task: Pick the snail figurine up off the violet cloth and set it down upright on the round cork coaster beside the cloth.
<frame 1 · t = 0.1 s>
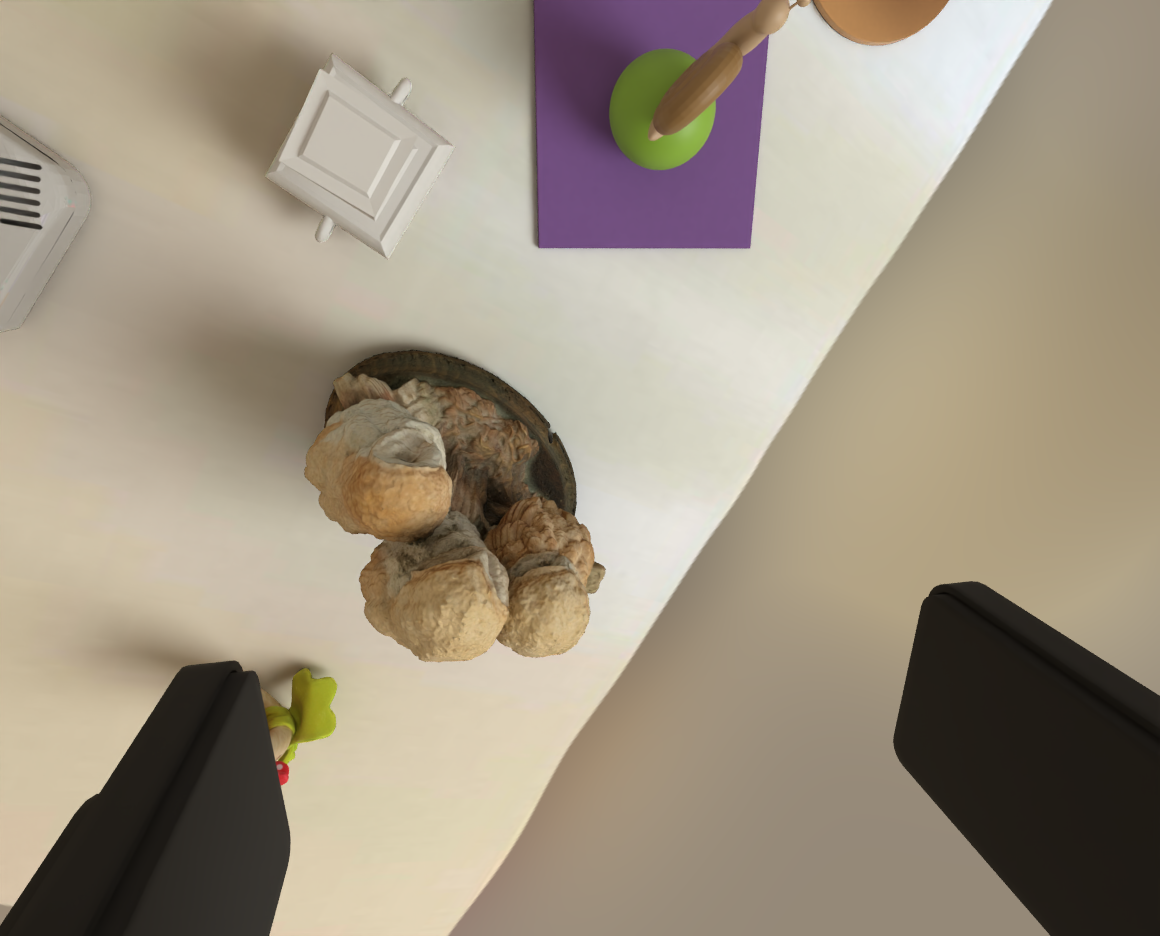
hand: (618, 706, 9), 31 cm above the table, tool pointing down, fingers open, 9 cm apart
owl figurine: (464, 464, 40), on the table
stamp: (369, 168, 33), on the table
snail figurine: (651, 115, 35), resting on cloth
bird rattle: (267, 686, 42), on the table
cloth: (653, 53, 34), on the table
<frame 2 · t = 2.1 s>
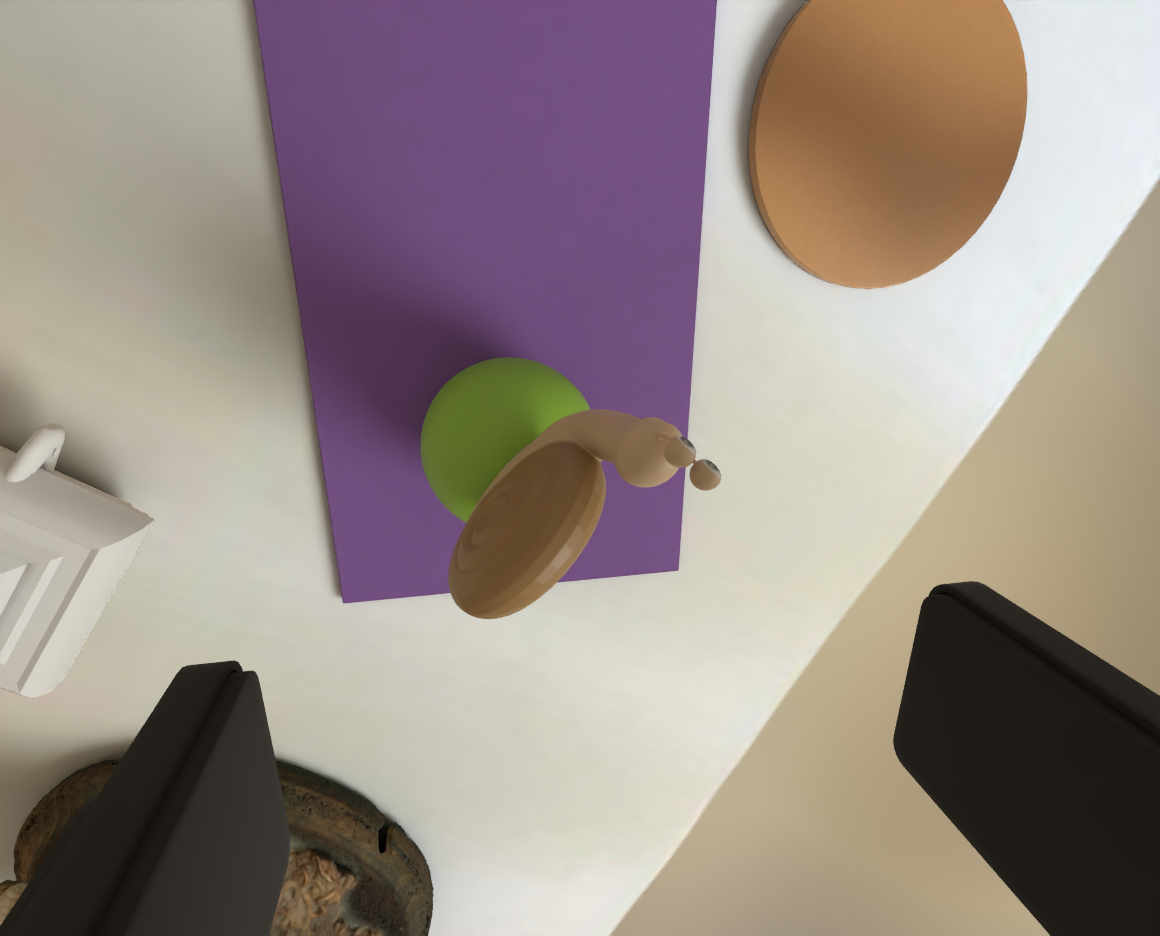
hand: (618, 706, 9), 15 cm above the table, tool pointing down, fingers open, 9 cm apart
owl figurine: (261, 867, 27), on the table
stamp: (40, 518, 20), on the table
coaster: (885, 135, 21), on the table
snail figurine: (512, 410, 22), resting on cloth
cloth: (509, 322, 21), on the table
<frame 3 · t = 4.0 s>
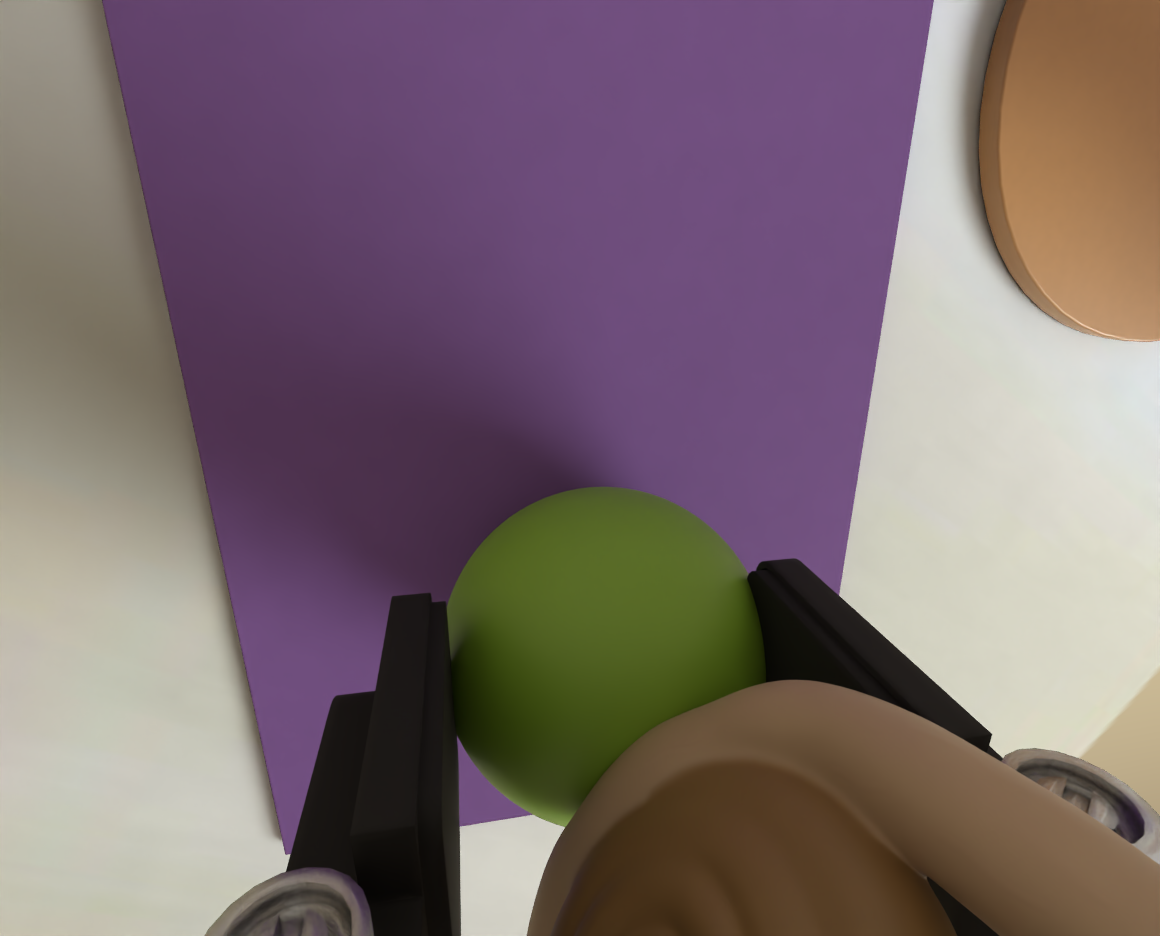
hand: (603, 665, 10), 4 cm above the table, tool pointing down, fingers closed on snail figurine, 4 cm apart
snail figurine: (588, 548, 13), resting on cloth, touching gripper
cloth: (562, 408, 12), on the table
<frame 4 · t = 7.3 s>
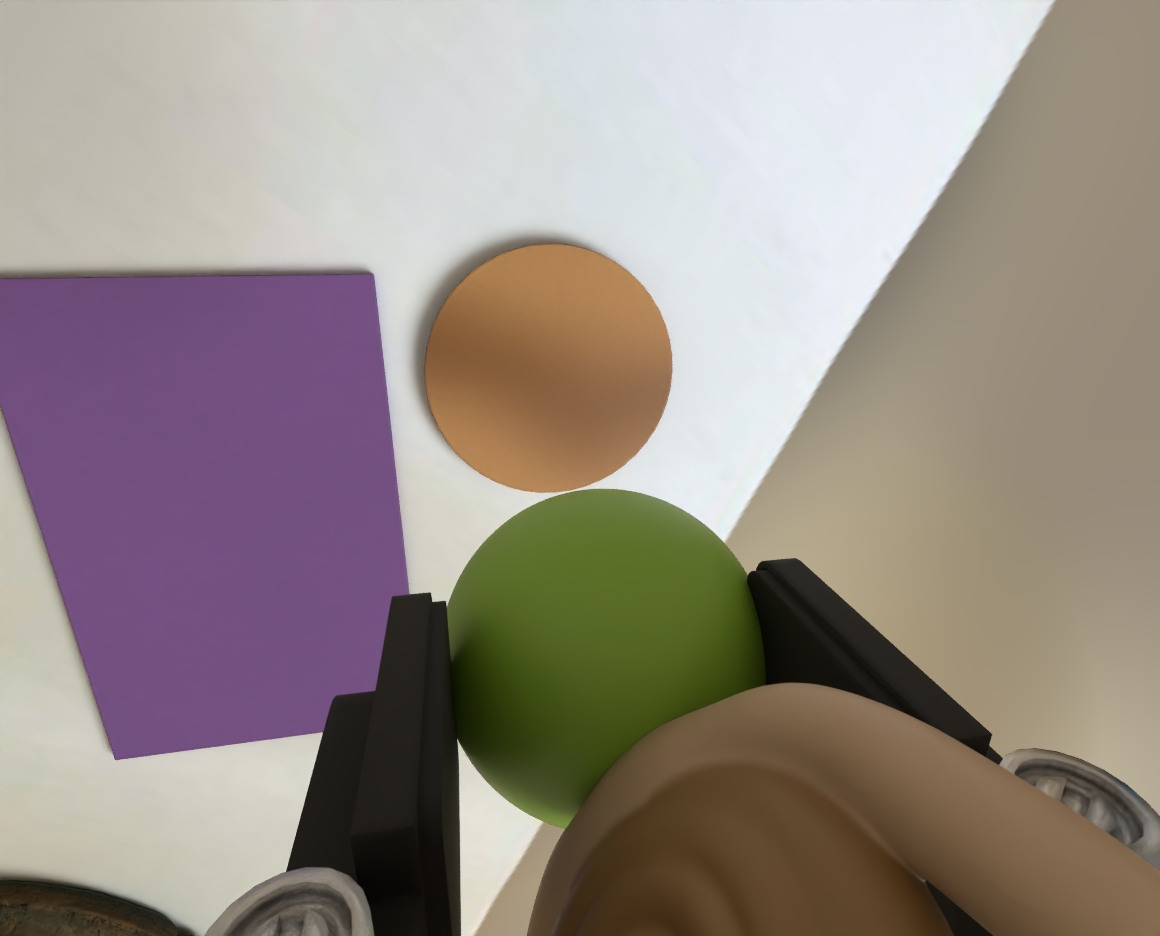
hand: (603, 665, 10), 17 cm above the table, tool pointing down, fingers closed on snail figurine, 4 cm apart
coaster: (551, 374, 25), on the table
snail figurine: (588, 550, 13), point 13 cm above the table, touching gripper
cloth: (234, 535, 25), on the table
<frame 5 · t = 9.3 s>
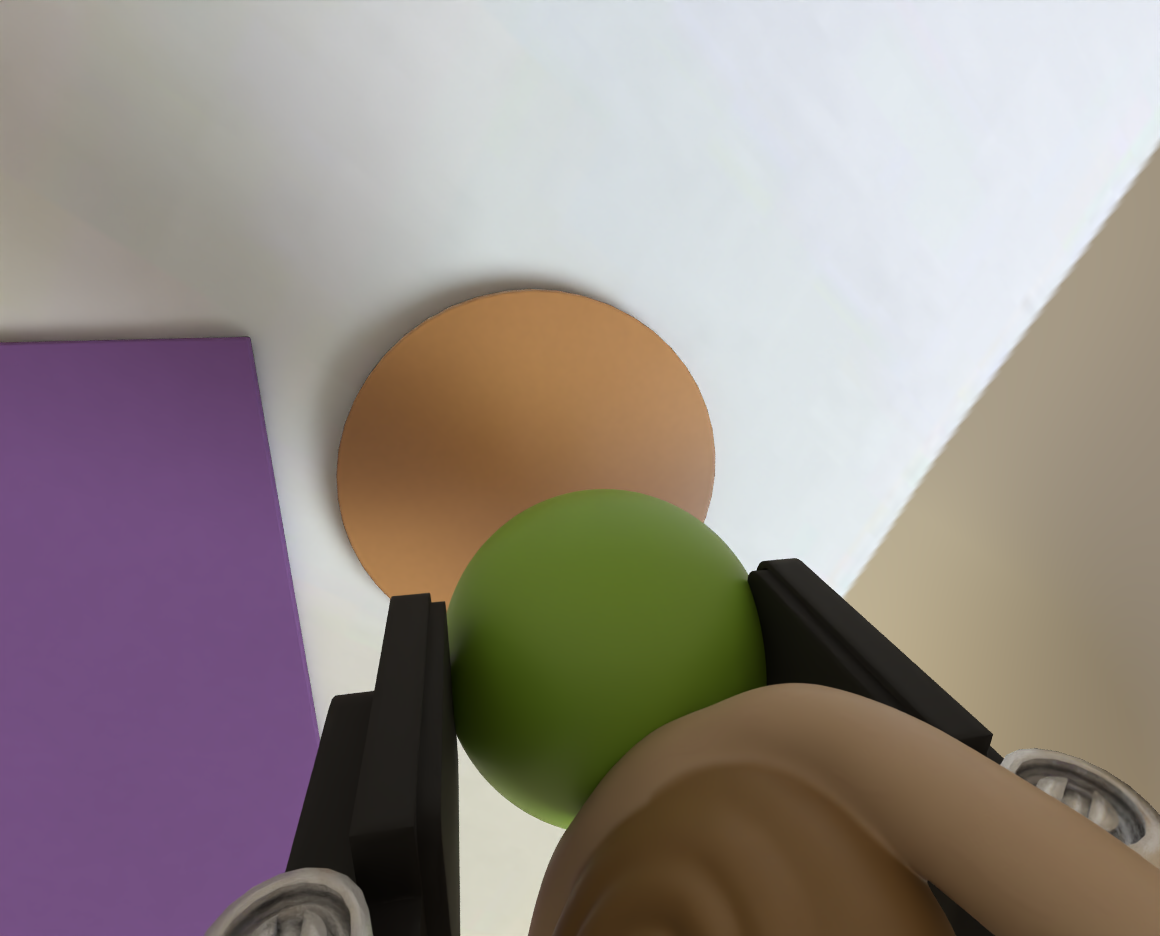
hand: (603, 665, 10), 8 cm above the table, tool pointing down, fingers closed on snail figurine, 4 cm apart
coaster: (534, 480, 17), on the table
snail figurine: (589, 550, 13), point 4 cm above the table, touching gripper
cloth: (52, 723, 17), on the table
when the fingers open (4 cm above the table, at t = 10.6 s): snail figurine stays where it is, resting on coaster.
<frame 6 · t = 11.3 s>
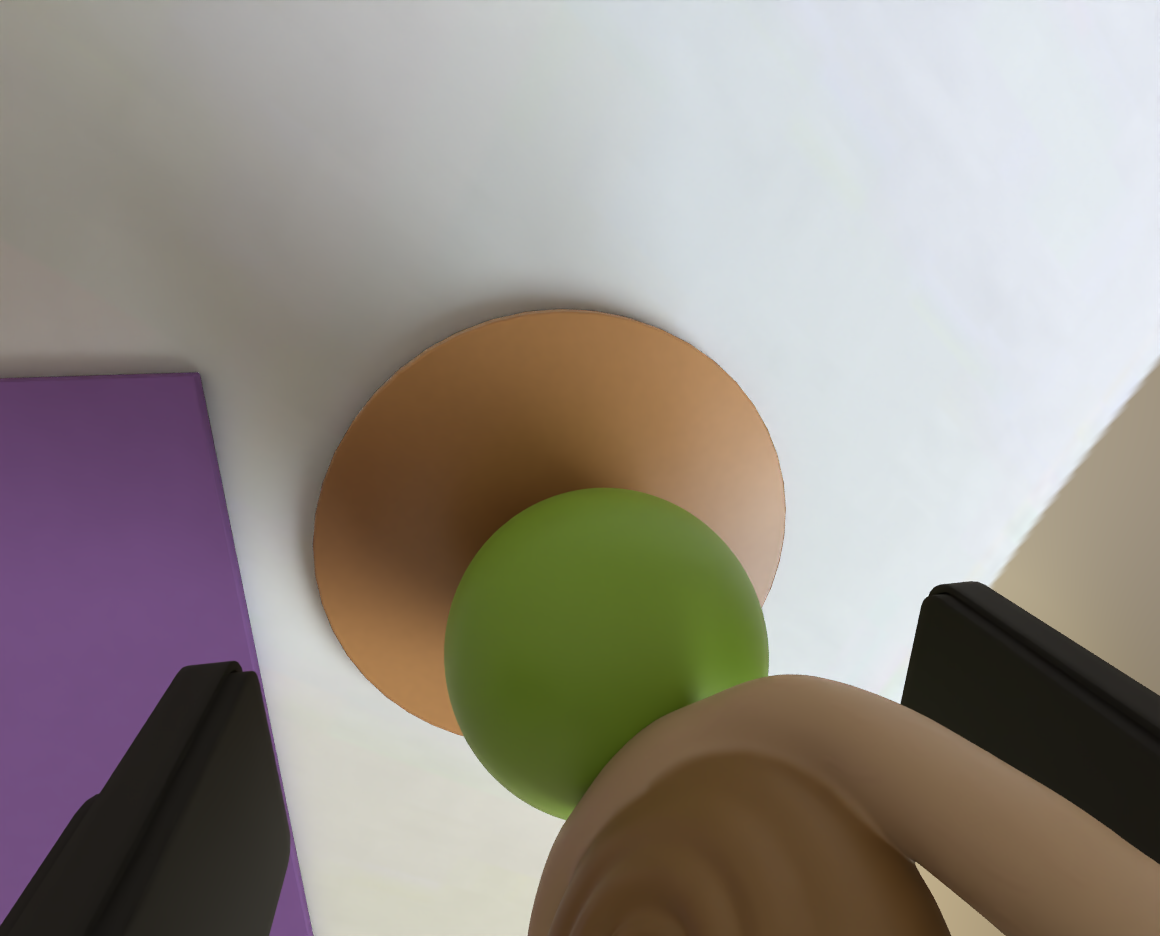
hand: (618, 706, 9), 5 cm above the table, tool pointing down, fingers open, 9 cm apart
coaster: (561, 544, 14), on the table
snail figurine: (590, 549, 13), resting on coaster
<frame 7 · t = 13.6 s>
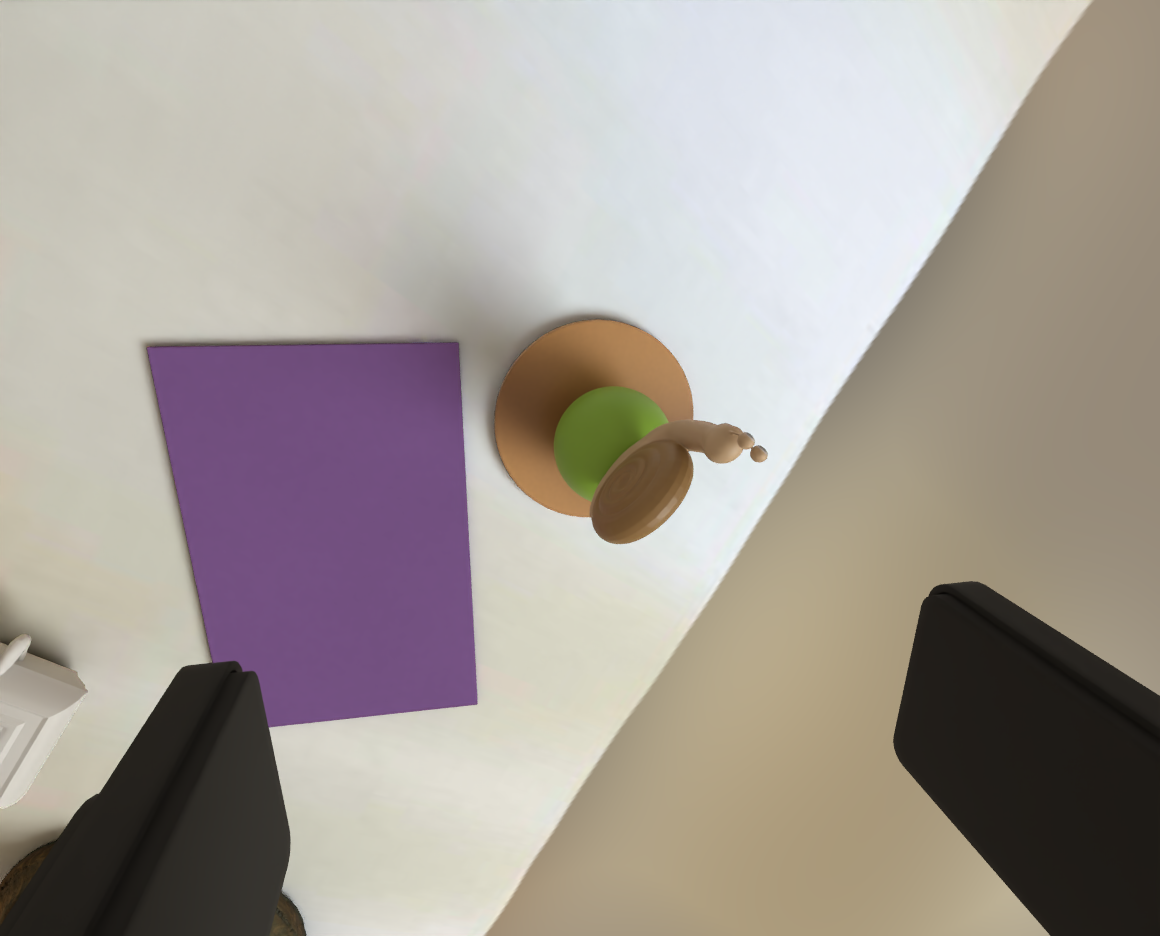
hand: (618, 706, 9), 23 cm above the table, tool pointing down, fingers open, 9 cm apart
owl figurine: (175, 917, 36), on the table
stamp: (17, 680, 30), on the table
coaster: (594, 421, 31), on the table
snail figurine: (607, 422, 31), resting on coaster
cloth: (335, 548, 31), on the table
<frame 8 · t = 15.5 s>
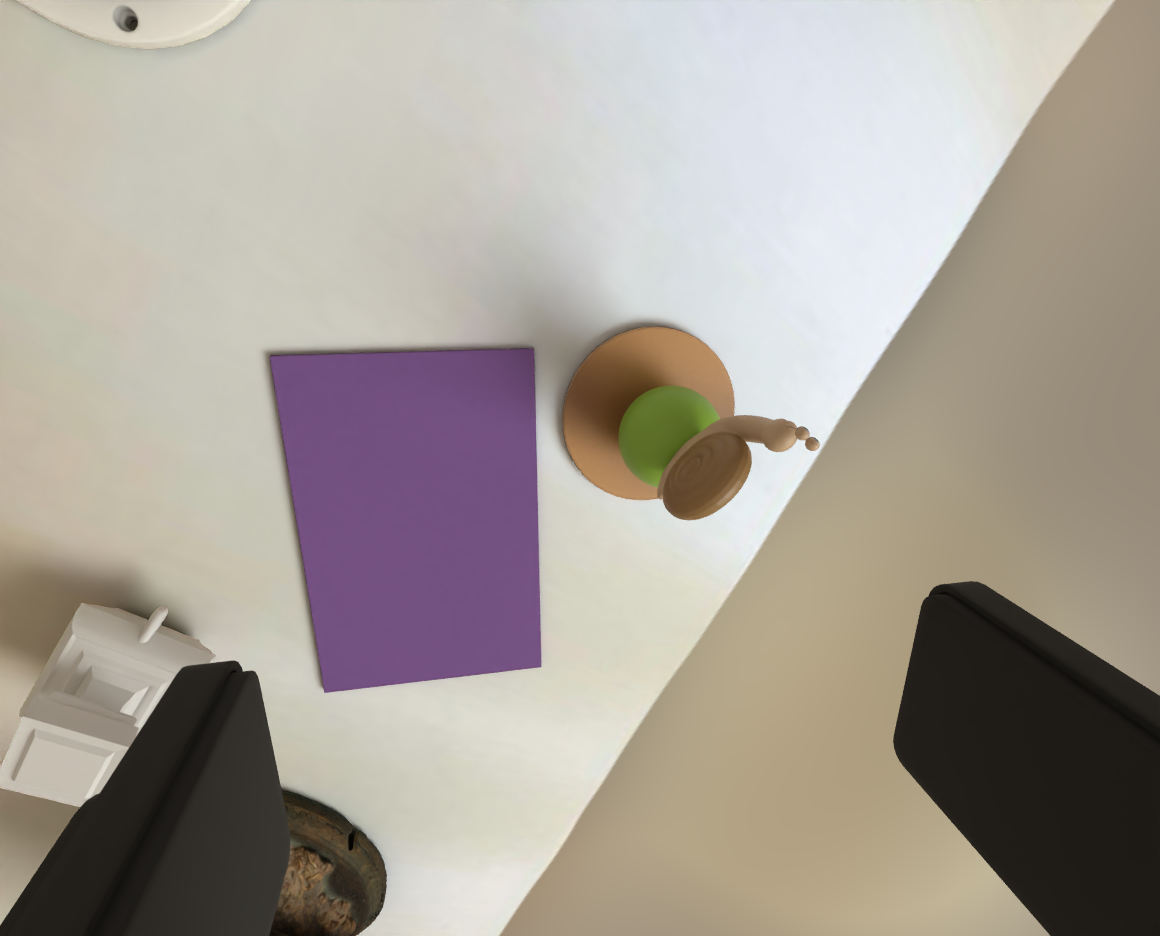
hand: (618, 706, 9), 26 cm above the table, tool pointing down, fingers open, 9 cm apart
owl figurine: (272, 860, 41), on the table
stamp: (145, 648, 35), on the table
coaster: (648, 415, 36), on the table
snail figurine: (659, 416, 35), resting on coaster
cloth: (423, 529, 35), on the table
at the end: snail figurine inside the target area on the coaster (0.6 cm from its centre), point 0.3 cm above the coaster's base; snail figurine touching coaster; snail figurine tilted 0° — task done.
